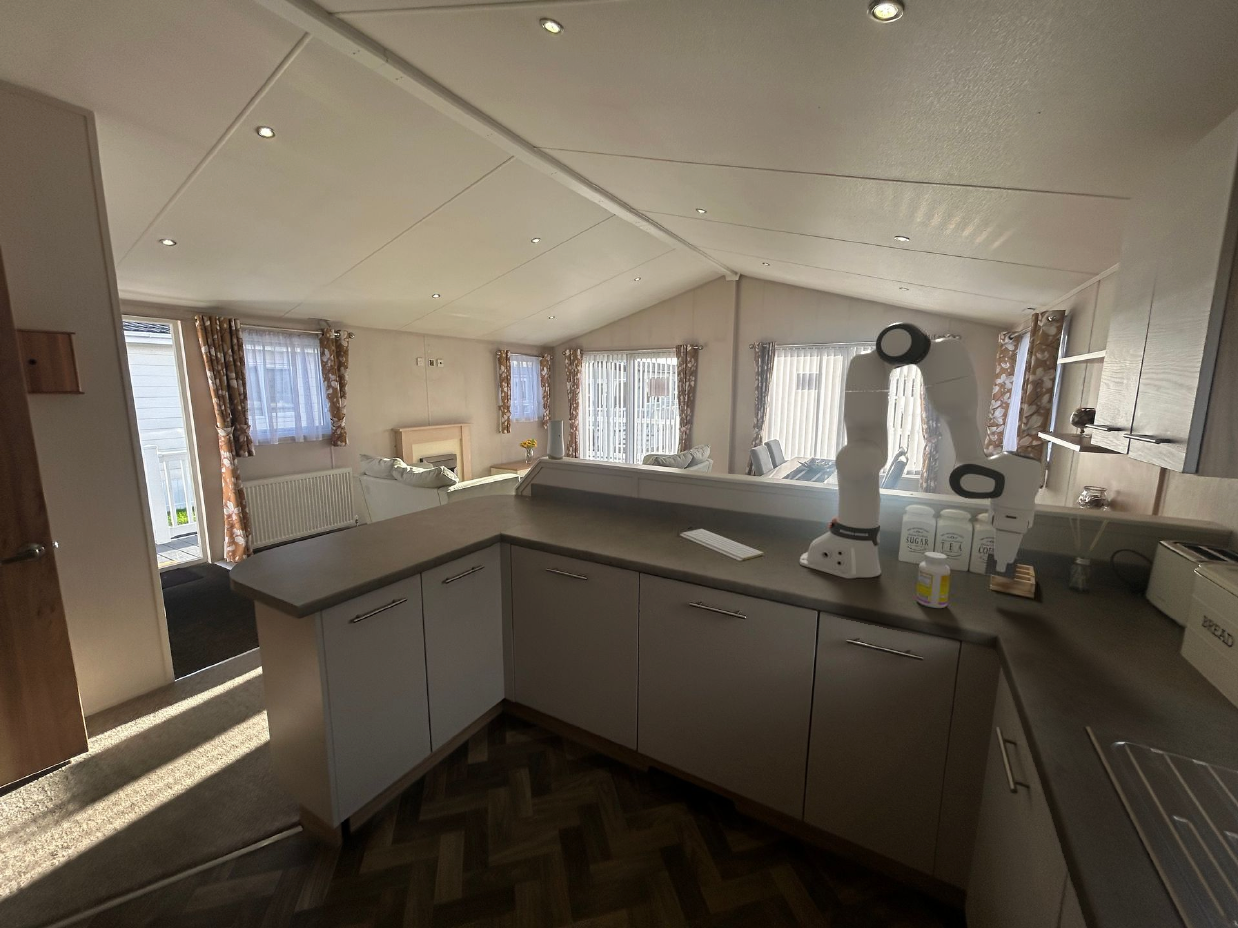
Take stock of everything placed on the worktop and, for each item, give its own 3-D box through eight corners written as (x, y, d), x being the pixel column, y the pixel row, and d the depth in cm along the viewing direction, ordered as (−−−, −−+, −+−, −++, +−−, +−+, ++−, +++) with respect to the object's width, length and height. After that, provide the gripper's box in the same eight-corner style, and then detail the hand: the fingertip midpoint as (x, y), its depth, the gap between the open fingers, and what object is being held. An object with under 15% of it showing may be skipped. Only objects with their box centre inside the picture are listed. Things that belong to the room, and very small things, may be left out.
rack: (989, 588, 131) (991, 575, 131) (991, 568, 145) (993, 556, 145) (1033, 597, 126) (1035, 584, 125) (1031, 576, 140) (1033, 563, 139)
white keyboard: (736, 563, 152) (763, 556, 158) (736, 555, 152) (763, 548, 158) (676, 537, 179) (701, 532, 185) (676, 529, 178) (701, 525, 184)
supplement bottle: (944, 600, 125) (950, 552, 123) (948, 611, 119) (954, 561, 117) (914, 595, 128) (919, 548, 125) (916, 605, 122) (921, 557, 120)
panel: (984, 573, 125) (988, 553, 124) (984, 570, 127) (988, 550, 126) (1014, 579, 122) (1018, 559, 120) (1014, 576, 123) (1018, 556, 122)
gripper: (995, 505, 131) (986, 554, 134) (993, 522, 115) (983, 577, 118) (1025, 510, 127) (1015, 560, 130) (1027, 528, 112) (1016, 584, 114)
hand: (1000, 568), depth 124 cm, fingers closed on panel, 2 cm apart
